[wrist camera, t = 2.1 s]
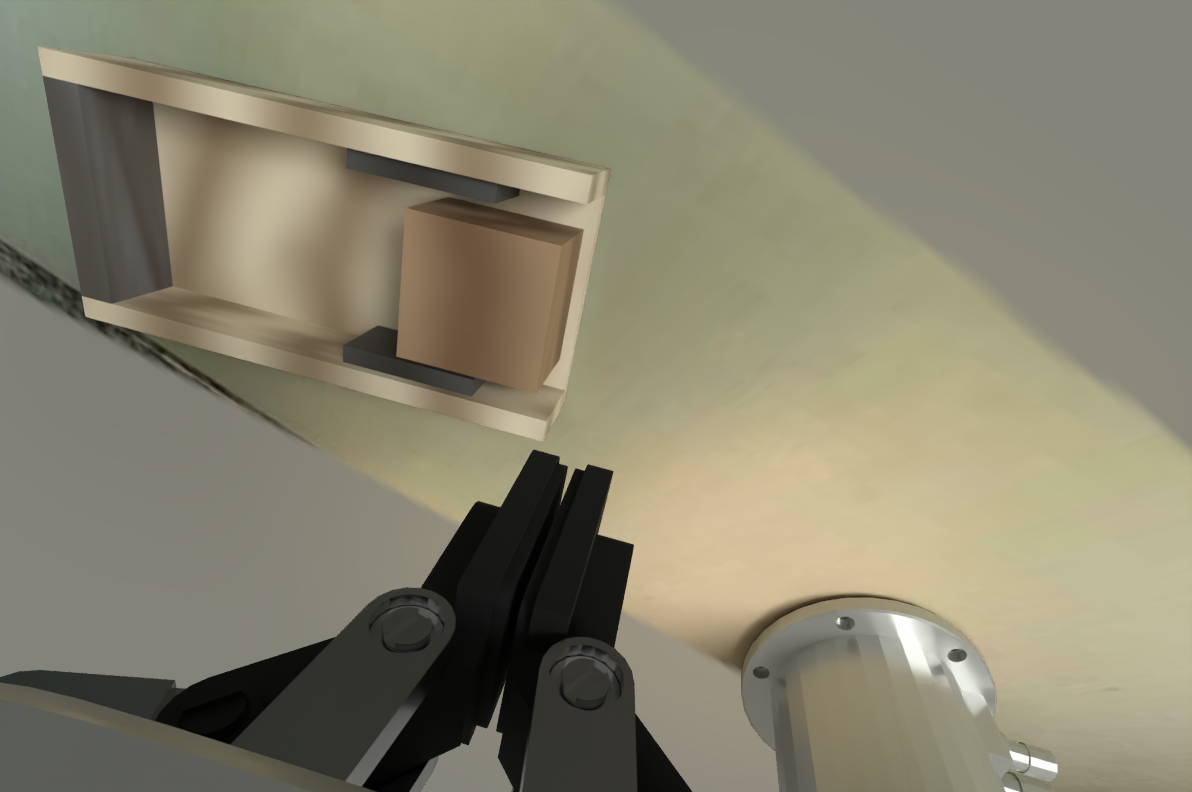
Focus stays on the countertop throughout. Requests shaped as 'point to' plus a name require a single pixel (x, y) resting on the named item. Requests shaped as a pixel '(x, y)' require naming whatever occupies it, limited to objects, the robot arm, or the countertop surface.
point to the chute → (287, 225)
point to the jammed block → (485, 291)
